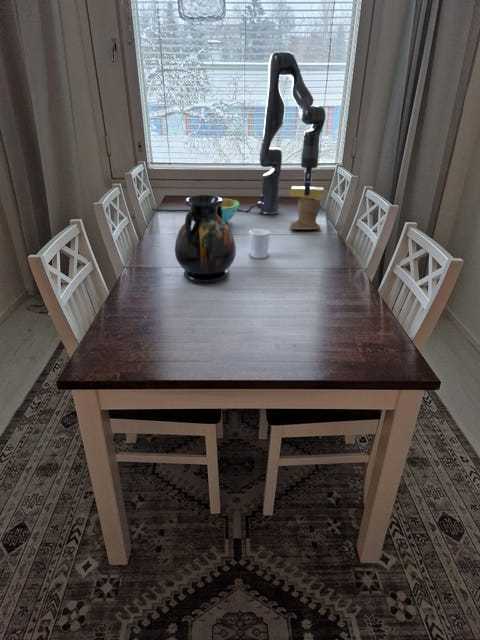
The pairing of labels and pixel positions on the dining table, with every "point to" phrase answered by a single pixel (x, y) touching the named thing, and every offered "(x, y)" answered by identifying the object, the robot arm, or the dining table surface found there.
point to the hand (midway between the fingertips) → (306, 193)
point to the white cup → (259, 243)
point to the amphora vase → (205, 242)
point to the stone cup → (307, 214)
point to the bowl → (228, 209)
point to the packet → (314, 191)
